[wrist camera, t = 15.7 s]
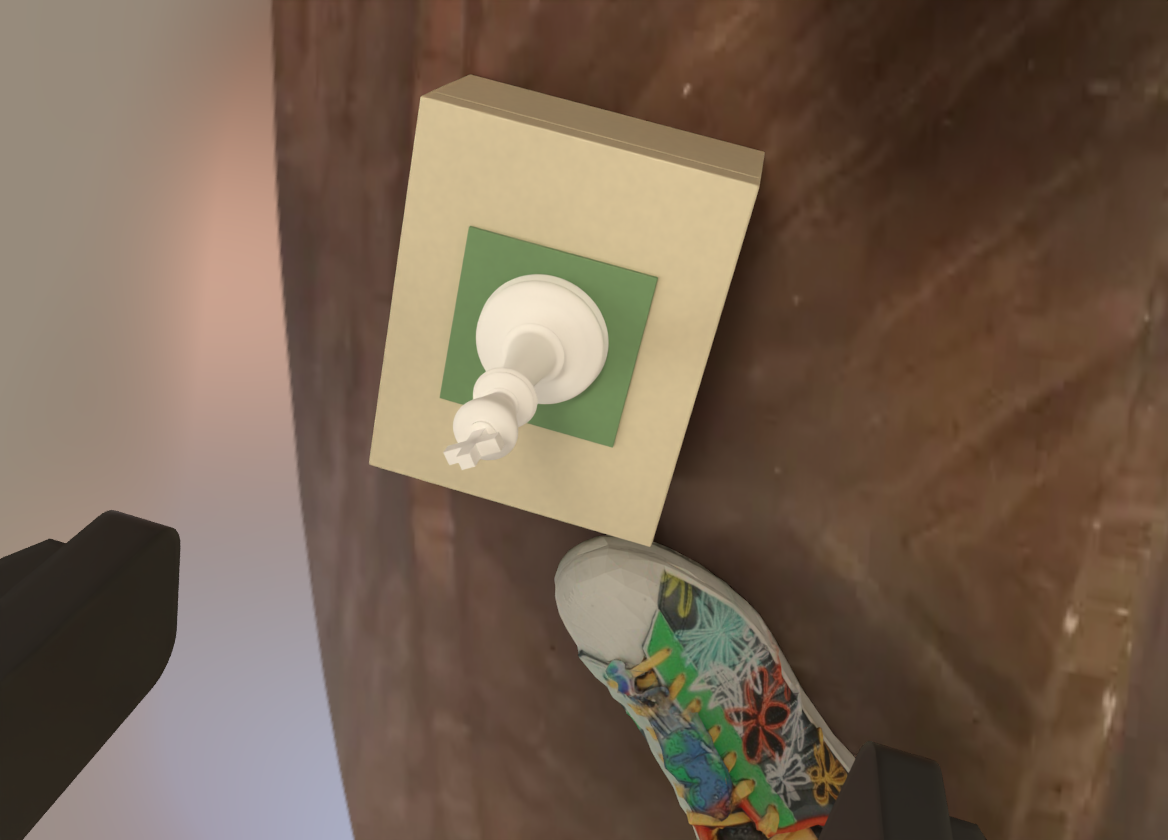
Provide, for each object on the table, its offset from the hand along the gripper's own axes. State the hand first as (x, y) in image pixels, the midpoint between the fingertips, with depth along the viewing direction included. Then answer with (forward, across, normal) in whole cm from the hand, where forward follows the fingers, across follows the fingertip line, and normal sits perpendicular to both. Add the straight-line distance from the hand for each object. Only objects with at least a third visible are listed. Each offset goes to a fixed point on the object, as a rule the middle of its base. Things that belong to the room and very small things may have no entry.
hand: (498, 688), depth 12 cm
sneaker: (+32, -8, +25) cm, 41 cm away
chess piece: (+26, +4, +7) cm, 27 cm away
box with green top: (+32, +4, +7) cm, 33 cm away
